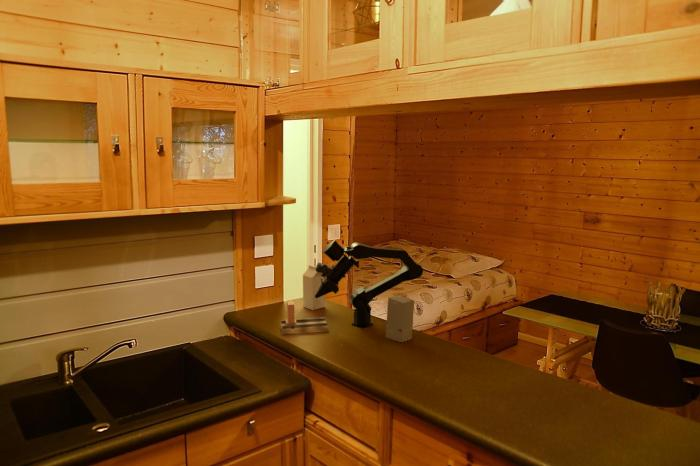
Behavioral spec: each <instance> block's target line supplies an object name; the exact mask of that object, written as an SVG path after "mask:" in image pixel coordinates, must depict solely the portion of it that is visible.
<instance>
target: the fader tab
mask: <svg viewBox="0 0 700 466" xmlns="http://www.w3.org/2000/svg"><path fill="white" fill-rule="evenodd" d="M286 309H287V310H286V313H287V314H286V315H287V319H284V320H285V321H286V325H293V324H297V323H296V319H297V318H295V303H294V301H293V300H291V301H289V300H287V301H286Z"/></svg>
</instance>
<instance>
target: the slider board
mask: <svg viewBox="0 0 700 466" xmlns="http://www.w3.org/2000/svg"><path fill="white" fill-rule="evenodd" d="M295 319H296V323H297V324H293V325H286V321H285V320H286V319H280V328H281V332H282V335H297V334H309V333H322V332H323V333H324V332H325V333H327V332H329V323H328V322H327V321H326V317H310V318H307V317H306V318H295Z"/></svg>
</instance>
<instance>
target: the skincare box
mask: <svg viewBox="0 0 700 466" xmlns="http://www.w3.org/2000/svg"><path fill="white" fill-rule="evenodd" d="M414 310H415V300H414V299H412V298H409V297H406V296H401V295H394V296H390V297H388V300H387V312H386V324H385V338H387V339H389V340H392V341H396V342H398V343H400V342H402V343H405V342H407V340H408V341H410V339H411V340H412V337H413V326H414ZM404 341H405V342H404Z"/></svg>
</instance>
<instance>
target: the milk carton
mask: <svg viewBox="0 0 700 466" xmlns="http://www.w3.org/2000/svg"><path fill="white" fill-rule="evenodd" d="M315 269H316V266H313V265H308V268H307V269H306V270H305V271H304V273H303V274H302V292H303V294H302V298H303V299H302V302H303V308H306V309H309V310H311V311H315V310H318V309H322V308H325V307H326V294H325V295H323V296H321V297H319V298H315V295H316V293H317V291H318V289H319V287H320V285H321V279H323V278H324V277H323V276H321V275H320V274H321V273H320V272H317V271H316V270H315Z"/></svg>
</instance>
